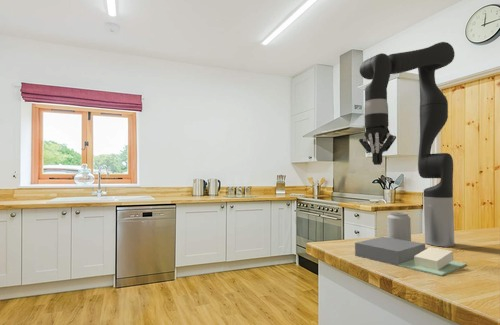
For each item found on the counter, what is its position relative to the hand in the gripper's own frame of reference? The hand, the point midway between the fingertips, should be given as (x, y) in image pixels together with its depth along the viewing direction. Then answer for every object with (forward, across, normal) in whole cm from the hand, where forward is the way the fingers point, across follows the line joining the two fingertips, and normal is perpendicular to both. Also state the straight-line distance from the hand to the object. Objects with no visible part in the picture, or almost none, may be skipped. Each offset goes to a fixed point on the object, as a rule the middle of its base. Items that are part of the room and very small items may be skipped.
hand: (377, 164), depth 105 cm
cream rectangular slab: (+25, -19, +5) cm, 32 cm away
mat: (+29, -18, +4) cm, 35 cm away
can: (+29, -1, -11) cm, 31 cm away
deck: (+29, -6, +4) cm, 30 cm away
